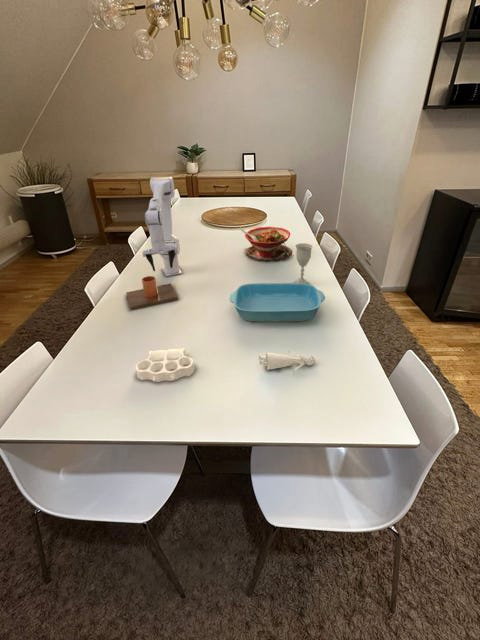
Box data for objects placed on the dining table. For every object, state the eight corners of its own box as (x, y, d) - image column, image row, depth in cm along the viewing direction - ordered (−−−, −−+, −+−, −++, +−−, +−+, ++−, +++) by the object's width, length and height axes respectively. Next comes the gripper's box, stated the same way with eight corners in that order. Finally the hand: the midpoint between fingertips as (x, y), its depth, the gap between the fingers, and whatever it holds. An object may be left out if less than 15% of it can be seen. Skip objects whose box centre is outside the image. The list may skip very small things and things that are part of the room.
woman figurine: (257, 343, 113) (312, 343, 114) (256, 354, 115) (310, 354, 116) (261, 367, 103) (320, 367, 104) (260, 378, 105) (318, 378, 106)
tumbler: (143, 293, 152) (140, 277, 148) (156, 290, 153) (154, 275, 149) (146, 298, 147) (142, 283, 143) (159, 296, 149) (156, 280, 145)
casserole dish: (227, 325, 130) (226, 309, 126) (232, 297, 149) (232, 282, 145) (326, 326, 128) (328, 310, 124) (319, 297, 146) (320, 282, 142)
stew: (233, 260, 182) (231, 230, 174) (249, 244, 201) (248, 217, 192) (284, 267, 173) (285, 236, 164) (296, 249, 191) (297, 221, 183)
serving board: (126, 295, 154) (126, 292, 153) (171, 286, 160) (170, 283, 159) (130, 310, 143) (130, 306, 142) (178, 299, 149) (177, 296, 148)
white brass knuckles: (195, 352, 117) (194, 382, 105) (141, 356, 116) (134, 387, 104) (194, 344, 115) (192, 374, 103) (139, 348, 114) (132, 379, 102)
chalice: (311, 282, 158) (314, 244, 148) (307, 288, 153) (310, 250, 143) (295, 279, 161) (298, 242, 151) (291, 285, 156) (293, 247, 146)
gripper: (141, 245, 140) (147, 275, 147) (176, 239, 144) (180, 269, 152) (139, 239, 145) (145, 269, 153) (173, 234, 150) (177, 263, 157)
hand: (162, 268), depth 153 cm, fingers open, 7 cm apart
